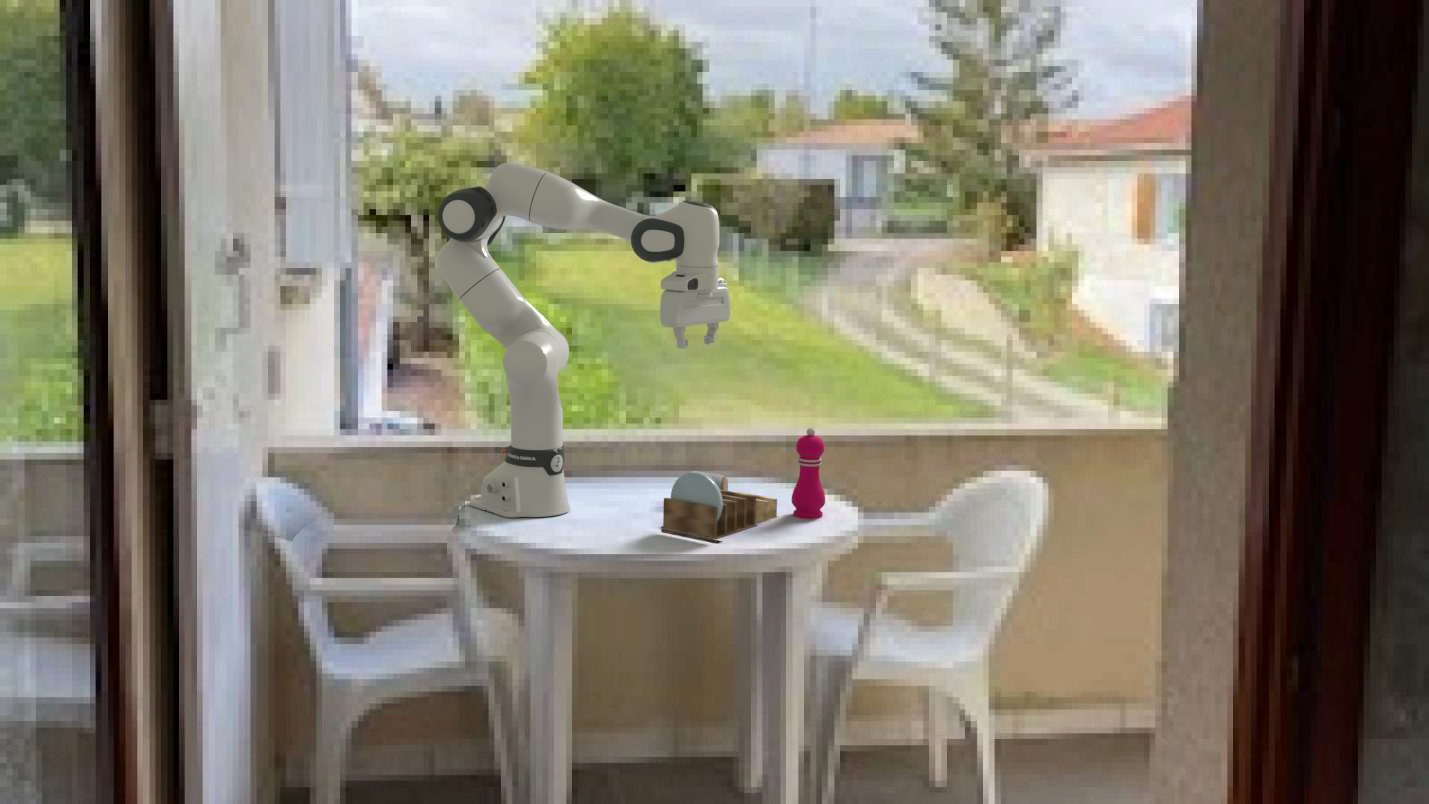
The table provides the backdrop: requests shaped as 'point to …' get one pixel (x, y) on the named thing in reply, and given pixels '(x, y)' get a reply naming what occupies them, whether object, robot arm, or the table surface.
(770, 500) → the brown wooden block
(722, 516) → the dish rack
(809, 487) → the pepper mill
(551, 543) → the table surface
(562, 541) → the table surface
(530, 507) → the robot arm
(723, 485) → the ceramic mug
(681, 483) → the plate
